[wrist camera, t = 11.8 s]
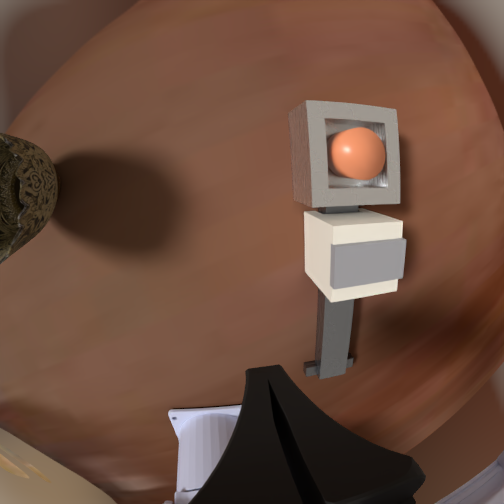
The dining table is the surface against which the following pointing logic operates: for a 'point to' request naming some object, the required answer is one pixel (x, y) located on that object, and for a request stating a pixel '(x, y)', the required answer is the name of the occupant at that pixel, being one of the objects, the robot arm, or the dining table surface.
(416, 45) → the dining table surface
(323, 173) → the button housing
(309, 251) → the block
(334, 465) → the robot arm
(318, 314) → the rail
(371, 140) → the button
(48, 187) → the cup
